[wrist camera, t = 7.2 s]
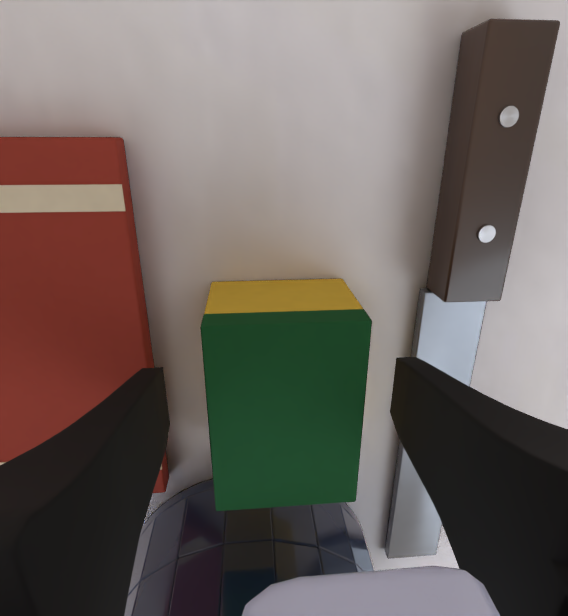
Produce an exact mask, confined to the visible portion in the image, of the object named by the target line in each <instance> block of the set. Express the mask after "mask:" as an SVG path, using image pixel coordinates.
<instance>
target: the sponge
mask: <svg viewBox="0 0 568 616" xmlns="http://www.w3.org/2000/svg"><path fill="white" fill-rule="evenodd" d="M371 326H372V321H371V319H370V318H369V316H368V315H367V313H366V312H365V310H364V309H363V308H362V306H361V305H360V304H359V302H358V301H357V299H356V298H355V296H354V295H353V293H352V292H351V291H350V289H349V288H348V286H347V285H346V283H345V282H344V280H343V279H305V280H265V281H226V282H212V283H211V287H210V291H209V295H208V300H207V304H206V308H205V312H204V316H203V320H202V324H201V338H202V350H203V363H204V375H205V387H206V399H207V411H208V423H209V435H210V447H211V460H212V472H213V484H214V496H215V508H216V511H226V510H241V509H255V508H270V507H284V506H299V505H313V504H328V503H342V502H355V501H356V492H357V481H358V470H359V459H360V448H361V437H362V425H363V414H364V403H365V392H366V381H367V370H368V359H369V348H370V337H371Z"/></svg>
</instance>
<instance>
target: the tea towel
mask: <svg viewBox="0 0 568 616" xmlns="http://www.w3.org/2000/svg"><path fill="white" fill-rule="evenodd" d="M142 368H154V362H153V355H152V347H151V340H150V332H149V325H148V318H147V310H146V303H145V296H144V288H143V281H142V273H141V266H140V259H139V251H138V244H137V237H136V229H135V222H134V214H133V207H132V200H131V192H130V185H129V178H128V170H127V163H126V155H125V148H124V141H123V139H122V138H120V137H0V465H2V464H4V463H6V462H8V461H10V460H12V459H13V458H15V457H17V456H19V455H21V454H23V453H25V452H27V451H29V450H30V449H32V448H34V447H36V446H38V445H40V444H41V443H43V442H45V441H46V440H48V439H49V438H51V437H53V436H54V435H56V434H58V433H59V432H61V431H62V430H64V429H65V428H67V427H68V426H70V425H71V424H73V423H74V422H75V421H77V420H78V419H79V418H81V417H82V416H83V415H85V414H86V413H87V412H89V411H90V410H91V409H93V408H94V407H95V406H97V405H98V404H99V403H101V402H102V401H103V400H104V399H106V398H107V397H108V396H109V395H110V394H112V393H113V392H114V391H115V390H116V389H118V388H119V387H120V386H121V385H122V384H124V383H125V382H126V381H127V380H128V379H129V378H131V377H132V376H133V375H134V374H135V373H136V372H138V371H139V370H140V369H142ZM168 479H169V473H168V465H167V458H166V451H165V454H164V458H163V461H162V464H161V468H160V471H159V474H158V477H157V481H156V484H155V487H154V490H153V493H163V492H165V491H166V488H167V483H168Z"/></svg>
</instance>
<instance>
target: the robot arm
mask: <svg viewBox="0 0 568 616" xmlns="http://www.w3.org/2000/svg"><path fill="white" fill-rule="evenodd" d="M390 413H391V416H392V419H393V422H394V425H395V428H396V431H397V433H398V436H399V439H400V441H401V443H402V445H403V447H404V449H405V451H406V453H407V455H408V457H409V459H410V461H411V462H412V464H413V466H414V468H415V470H416V472H417V474H418V476H419V478H420V479H421V481H422V483H423V485H424V487H425V489H426V491H427V493H428V495H429V496H430V498H431V500H432V502H433V504H434V506H435V509H436V511H437V513H438V515H439V517H440V520H441V522H442V525H443V527H444V530H445V532H446V535H447V537H448V540H449V542H450V545H451V547H452V550H453V552H454V555H455V558H456V560H457V563H458V566H459V568H460V569H456V568H448V567H439V566H426V567H414V568H402V569H390V570H378V571H366V572H353V573H341V574H329V575H317V576H305V577H297V578H294V579H290V580H286V581H282V582H279V583H275V584H271V585H270V586H269V587H267V588H266V589H265V590H263V591H262V592H261V593H259V594H258V595H257V596H255V597H254V598H253V599H252V600H250V601H249V602H248V603H247V604H246V605H245V608H244V611H243V614H242V616H568V429H565V428H562V427H559V426H556V425H553V424H550V423H548V422H545V421H542V420H540V419H537V418H534V417H532V416H530V415H527V414H525V413H523V412H520V411H518V410H515V409H513V408H511V407H509V406H506V405H504V404H502V403H500V402H498V401H496V400H494V399H492V398H490V397H488V396H486V395H484V394H482V393H480V392H478V391H477V390H475V389H473V388H471V387H469V386H467V385H466V384H464V383H462V382H460V381H458V380H457V379H455V378H453V377H451V376H450V375H448V374H446V373H445V372H443V371H441V370H439V369H438V368H436V367H434V366H432V365H431V364H429V363H427V362H425V361H423V360H421V359H419V358H417V357H404V358H397V359H396V367H395V375H394V384H393V392H392V401H391V409H390ZM169 426H170V421H169V413H168V405H167V397H166V389H165V381H164V374H163V367H160V368H142V369H140V370H139V371H138V372H136V373H135V374H134V375H133V376H132V377H131V378H129V379H128V380H127V381H126V382H125V383H124V384H122V385H121V386H120V387H119V388H118V389H116V390H115V391H114V392H113V393H112V394H110V395H109V396H108V397H107V398H106V399H104V400H103V401H102V402H101V403H99V404H98V405H97V406H95V407H94V408H93V409H91V410H90V411H89V412H87V413H86V414H85V415H83V416H82V417H81V418H79V419H78V420H77V421H75V422H74V423H73V424H71V425H70V426H68V427H67V428H65V429H64V430H62V431H61V432H59V433H58V434H56V435H54V436H53V437H51V438H49V439H48V440H46V441H45V442H43V443H41V444H40V445H38V446H36V447H34V448H32V449H30V450H29V451H27V452H25V453H23V454H21V455H19V456H17V457H15V458H13V459H12V460H10V461H8V462H6V463H4V464H2V465H0V616H124V614H125V609H126V603H127V598H128V593H129V587H130V582H131V577H132V571H133V567H134V562H135V557H136V552H137V547H138V542H139V537H140V533H141V530H142V526H143V522H144V519H145V516H146V512H147V509H148V506H149V503H150V500H151V497H152V493H153V490H154V487H155V484H156V481H157V477H158V474H159V471H160V468H161V464H162V461H163V458H164V454H165V450H166V444H167V438H168V432H169Z"/></svg>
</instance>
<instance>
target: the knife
mask: <svg viewBox="0 0 568 616" xmlns="http://www.w3.org/2000/svg"><path fill="white" fill-rule="evenodd" d="M559 26H560V21H557V20H521V19H489V20H487V21H485V22H483V23H481V24H479V25H477V26H475V27H473V28H471V29H469V30H467V31H465V32H463V34H462V37H461V45H460V52H459V59H458V66H457V73H456V80H455V87H454V95H453V102H452V109H451V116H450V123H449V130H448V137H447V144H446V152H445V159H444V166H443V173H442V180H441V187H440V194H439V202H438V209H437V216H436V223H435V230H434V237H433V244H432V251H431V259H430V266H429V273H428V280H427V288H424V289H420V294H419V301H418V309H417V316H416V324H415V331H414V338H413V346H412V353H411V357H417V358H419V359H421V360H423V361H425V362H427V363H429V364H431V365H432V366H434V367H436V368H438V369H439V370H441V371H443V372H445V373H446V374H448V375H450V376H451V377H453V378H455V379H457V380H458V381H460V382H462V383H464V384H466V385H467V386H469V387H470V382H471V377H472V372H473V367H474V362H475V357H476V352H477V348H478V343H479V338H480V333H481V328H482V323H483V318H484V313H485V308H486V303H487V301H500V300H501V296H502V291H503V286H504V282H505V277H506V272H507V268H508V263H509V258H510V254H511V249H512V245H513V240H514V235H515V231H516V226H517V221H518V217H519V212H520V207H521V203H522V198H523V193H524V189H525V184H526V179H527V175H528V170H529V165H530V161H531V156H532V151H533V147H534V142H535V138H536V133H537V128H538V124H539V119H540V114H541V110H542V105H543V100H544V96H545V91H546V86H547V82H548V77H549V72H550V68H551V63H552V58H553V54H554V49H555V44H556V40H557V35H558V30H559ZM441 526H442V522H441V520H440V517H439V515H438V513H437V511H436V509H435V506H434V504H433V502H432V500H431V498H430V496H429V495H428V493H427V491H426V489H425V487H424V485H423V483H422V481H421V479H420V478H419V476H418V474H417V472H416V470H415V468H414V466H413V464H412V462H411V461H410V459H409V457H408V455H407V453H406V451H405V449H404V447H403V445H402V443H401V441H400V443H399V450H398V458H397V465H396V473H395V480H394V487H393V495H392V502H391V510H390V517H389V525H388V532H387V540H386V547H385V552H386V555H387V558H388V559H389V558H401V557H414V556H426V555H436V551H437V546H438V541H439V536H440V531H441Z"/></svg>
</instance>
